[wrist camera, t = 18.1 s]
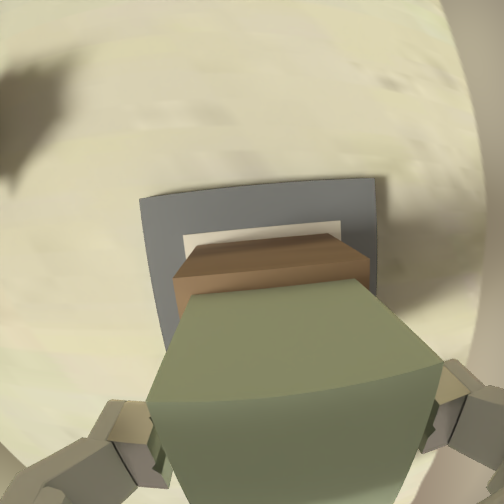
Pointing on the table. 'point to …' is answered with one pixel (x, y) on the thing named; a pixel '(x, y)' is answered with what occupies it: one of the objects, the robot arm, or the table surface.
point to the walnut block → (267, 265)
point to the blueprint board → (252, 225)
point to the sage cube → (293, 396)
